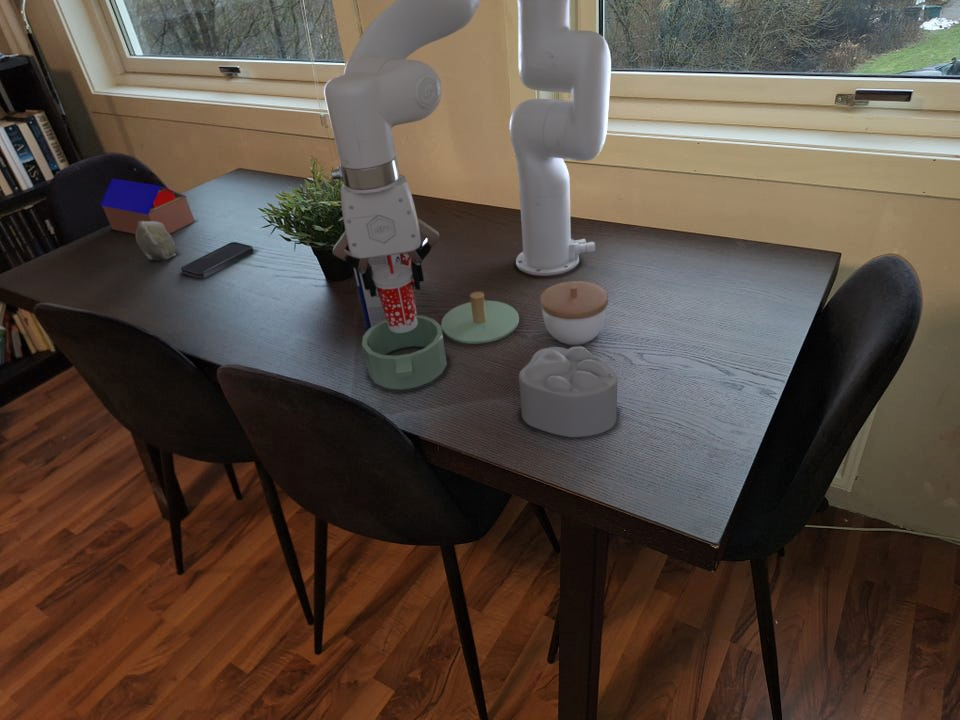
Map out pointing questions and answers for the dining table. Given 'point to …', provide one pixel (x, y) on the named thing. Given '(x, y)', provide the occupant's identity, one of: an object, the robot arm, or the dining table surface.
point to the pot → (409, 366)
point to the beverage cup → (397, 296)
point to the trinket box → (574, 311)
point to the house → (144, 206)
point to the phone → (217, 260)
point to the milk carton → (373, 304)
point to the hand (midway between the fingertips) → (395, 288)
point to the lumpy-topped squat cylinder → (568, 392)
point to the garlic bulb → (155, 240)
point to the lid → (480, 321)
